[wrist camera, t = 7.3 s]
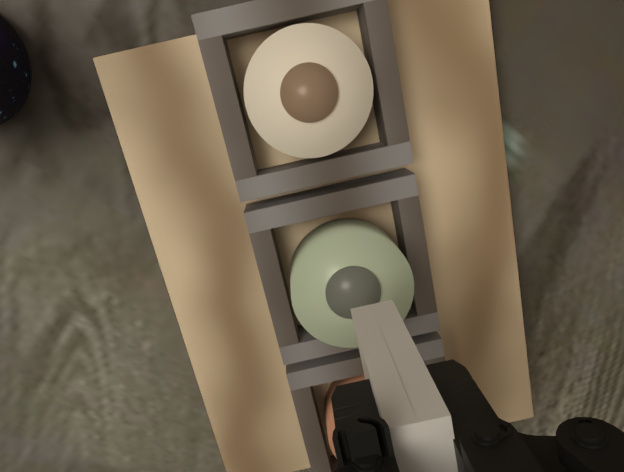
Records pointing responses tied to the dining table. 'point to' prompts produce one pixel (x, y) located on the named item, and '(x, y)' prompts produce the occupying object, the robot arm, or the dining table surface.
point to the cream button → (308, 90)
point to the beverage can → (12, 72)
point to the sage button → (346, 277)
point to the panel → (323, 210)
